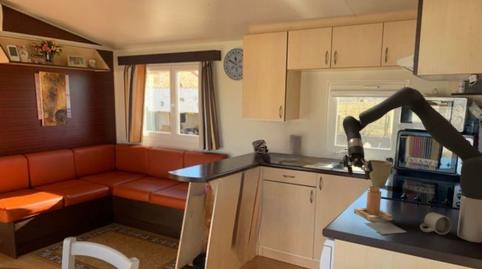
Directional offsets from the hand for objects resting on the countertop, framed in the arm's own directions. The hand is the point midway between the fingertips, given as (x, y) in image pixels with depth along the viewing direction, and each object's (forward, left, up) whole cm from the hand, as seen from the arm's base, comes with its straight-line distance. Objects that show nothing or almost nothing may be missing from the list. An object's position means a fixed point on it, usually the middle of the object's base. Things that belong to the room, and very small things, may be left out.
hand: (359, 176), depth 160 cm
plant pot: (-49, -49, -19) cm, 72 cm away
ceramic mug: (-21, +24, -19) cm, 37 cm away
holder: (-5, +5, -18) cm, 20 cm away
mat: (-1, +18, -18) cm, 26 cm away
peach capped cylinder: (-5, +5, -18) cm, 19 cm away
